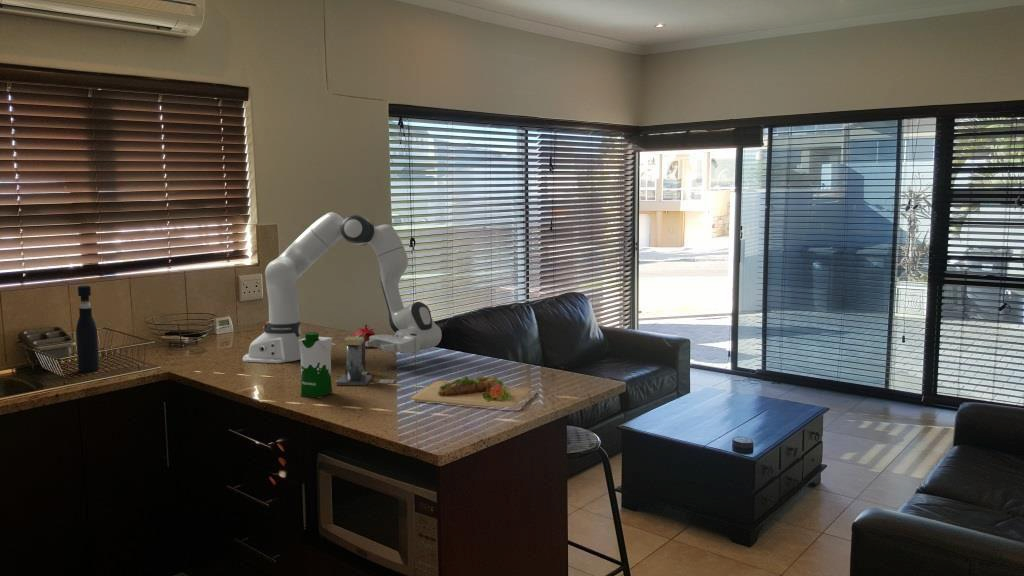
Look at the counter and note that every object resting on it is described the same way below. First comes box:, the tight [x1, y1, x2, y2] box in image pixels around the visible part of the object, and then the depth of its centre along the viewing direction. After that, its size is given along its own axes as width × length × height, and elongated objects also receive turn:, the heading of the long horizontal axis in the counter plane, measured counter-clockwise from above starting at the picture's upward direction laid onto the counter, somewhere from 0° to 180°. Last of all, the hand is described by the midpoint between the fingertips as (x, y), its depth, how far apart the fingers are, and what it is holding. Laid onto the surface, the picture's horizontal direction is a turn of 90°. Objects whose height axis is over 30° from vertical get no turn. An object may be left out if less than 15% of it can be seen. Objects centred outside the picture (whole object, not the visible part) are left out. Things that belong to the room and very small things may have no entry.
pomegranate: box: [353, 324, 376, 349], centre depth 313 cm, size 10×10×9 cm
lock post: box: [336, 345, 396, 386], centre depth 257 cm, size 18×18×13 cm
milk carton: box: [299, 331, 333, 398], centre depth 236 cm, size 9×9×20 cm
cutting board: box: [410, 375, 532, 407], centre depth 237 cm, size 35×23×8 cm
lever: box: [343, 335, 367, 371], centre depth 258 cm, size 16×6×13 cm, turn 0°
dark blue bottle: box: [75, 285, 100, 373], centre depth 263 cm, size 6×6×30 cm
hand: (374, 346), depth 268 cm, fingers open, 8 cm apart
